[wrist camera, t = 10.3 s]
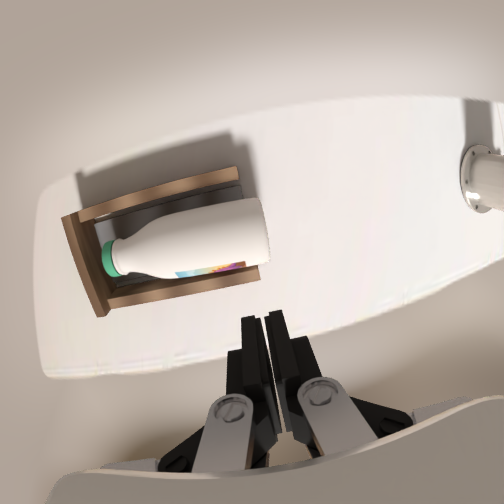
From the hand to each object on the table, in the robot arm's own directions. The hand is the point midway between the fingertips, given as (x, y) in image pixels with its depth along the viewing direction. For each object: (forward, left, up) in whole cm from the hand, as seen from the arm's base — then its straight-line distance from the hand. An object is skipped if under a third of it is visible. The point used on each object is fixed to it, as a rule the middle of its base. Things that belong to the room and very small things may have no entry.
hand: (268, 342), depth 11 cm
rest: (+10, 0, -26) cm, 28 cm away
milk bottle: (-2, +1, -22) cm, 22 cm away
